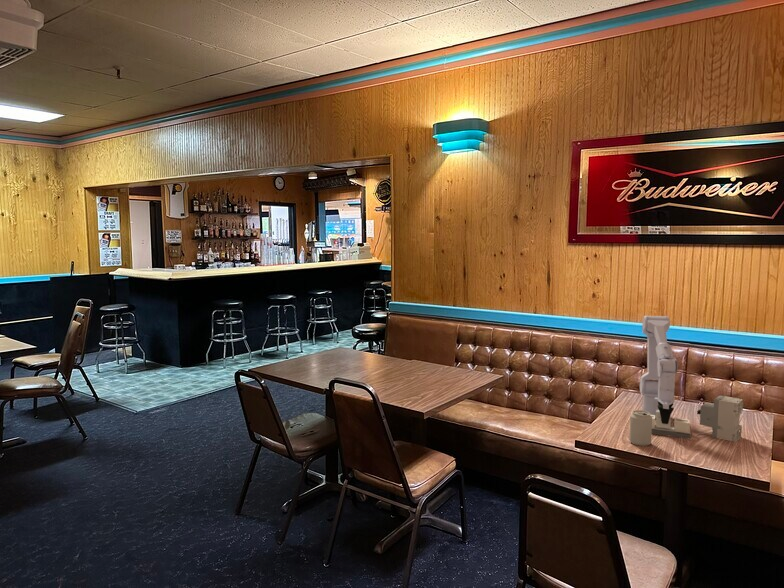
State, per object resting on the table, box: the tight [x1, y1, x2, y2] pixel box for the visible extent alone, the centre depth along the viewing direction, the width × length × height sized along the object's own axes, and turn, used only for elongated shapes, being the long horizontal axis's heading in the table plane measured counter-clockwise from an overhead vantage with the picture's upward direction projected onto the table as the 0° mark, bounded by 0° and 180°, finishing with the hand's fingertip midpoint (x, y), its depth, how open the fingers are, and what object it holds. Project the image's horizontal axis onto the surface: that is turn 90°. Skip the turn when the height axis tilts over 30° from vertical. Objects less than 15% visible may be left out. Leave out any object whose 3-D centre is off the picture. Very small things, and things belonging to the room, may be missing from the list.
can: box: [629, 409, 653, 447], centre depth 197 cm, size 8×8×12 cm
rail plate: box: [650, 415, 692, 440], centre depth 210 cm, size 18×9×6 cm, turn 63°
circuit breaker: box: [696, 395, 744, 443], centre depth 206 cm, size 8×14×15 cm, turn 45°
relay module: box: [655, 410, 672, 429], centre depth 210 cm, size 5×4×6 cm
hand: (664, 421), depth 210 cm, fingers closed on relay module, 4 cm apart
